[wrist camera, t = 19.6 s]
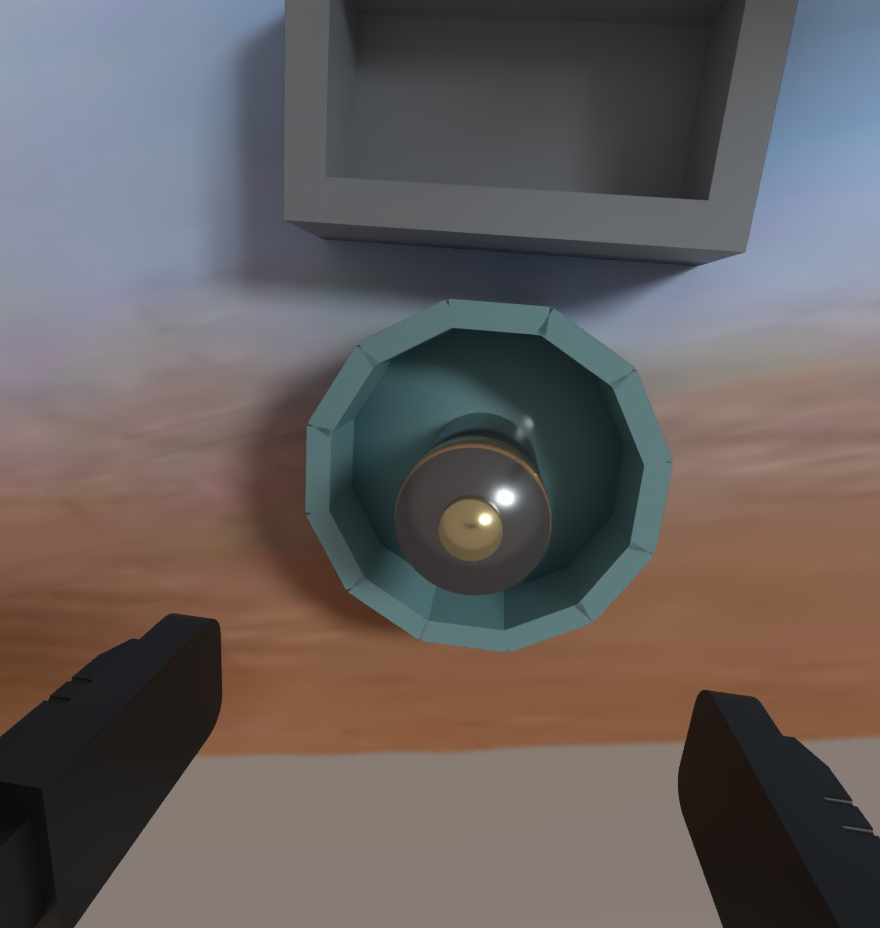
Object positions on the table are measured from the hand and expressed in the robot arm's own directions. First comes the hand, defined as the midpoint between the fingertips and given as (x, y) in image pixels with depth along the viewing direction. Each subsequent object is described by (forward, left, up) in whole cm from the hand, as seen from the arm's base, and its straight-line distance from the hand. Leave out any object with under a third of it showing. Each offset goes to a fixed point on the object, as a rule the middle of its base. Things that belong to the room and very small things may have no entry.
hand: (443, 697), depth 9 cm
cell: (0, 0, -16) cm, 16 cm away
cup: (0, 0, -17) cm, 17 cm away
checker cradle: (-14, 0, -17) cm, 22 cm away
